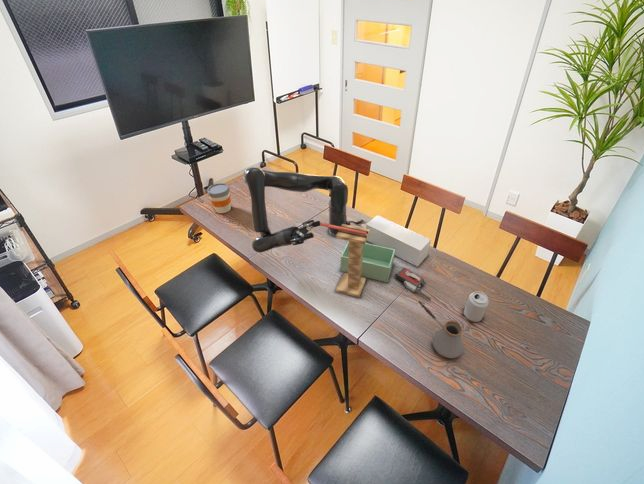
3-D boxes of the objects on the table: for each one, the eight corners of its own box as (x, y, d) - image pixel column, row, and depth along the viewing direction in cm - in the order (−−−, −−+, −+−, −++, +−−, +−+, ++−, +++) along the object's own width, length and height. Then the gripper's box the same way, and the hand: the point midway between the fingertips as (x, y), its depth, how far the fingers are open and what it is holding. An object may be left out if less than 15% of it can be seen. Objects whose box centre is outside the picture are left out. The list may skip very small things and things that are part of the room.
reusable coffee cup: (212, 205, 206) (206, 184, 197) (233, 202, 209) (228, 181, 200) (212, 216, 196) (206, 195, 187) (234, 212, 199) (229, 191, 190)
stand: (335, 291, 149) (334, 235, 130) (342, 274, 158) (343, 220, 138) (360, 297, 146) (364, 242, 127) (366, 280, 155) (371, 225, 135)
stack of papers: (427, 255, 168) (431, 239, 162) (417, 266, 162) (420, 250, 155) (376, 230, 185) (377, 215, 178) (364, 239, 178) (365, 224, 172)
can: (467, 305, 143) (474, 286, 136) (484, 314, 139) (492, 295, 132) (460, 316, 138) (467, 297, 131) (478, 326, 134) (486, 307, 127)
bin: (340, 270, 160) (340, 256, 154) (348, 253, 170) (349, 239, 164) (387, 282, 154) (389, 268, 148) (393, 263, 164) (395, 249, 158)
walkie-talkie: (391, 279, 155) (429, 302, 144) (392, 273, 152) (430, 296, 141) (401, 269, 160) (438, 291, 149) (402, 263, 158) (440, 284, 147)
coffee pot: (467, 347, 127) (477, 324, 118) (452, 368, 120) (461, 344, 111) (420, 315, 139) (425, 291, 130) (404, 332, 132) (409, 308, 123)
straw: (319, 226, 136) (319, 223, 136) (320, 224, 137) (320, 221, 137) (365, 236, 131) (366, 233, 130) (366, 234, 132) (366, 231, 131)
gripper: (276, 239, 140) (305, 231, 132) (290, 220, 151) (318, 212, 143) (285, 253, 143) (314, 245, 135) (299, 233, 154) (326, 225, 145)
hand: (316, 228), depth 139 cm, fingers open, 8 cm apart
